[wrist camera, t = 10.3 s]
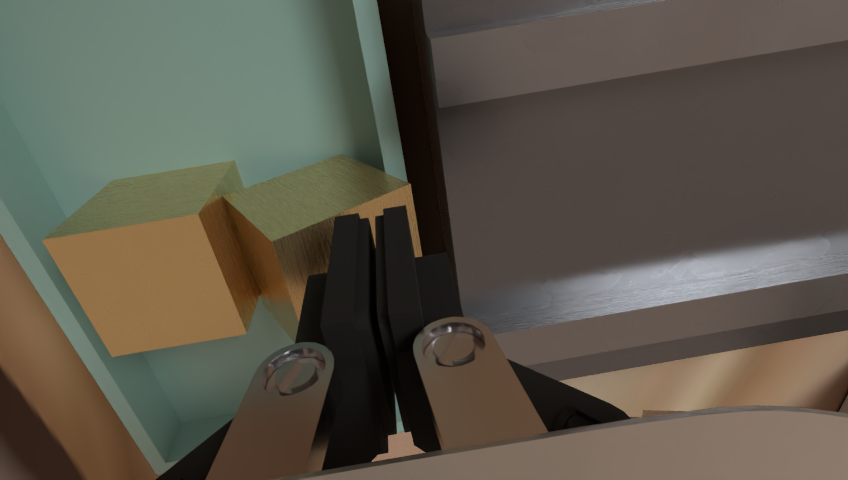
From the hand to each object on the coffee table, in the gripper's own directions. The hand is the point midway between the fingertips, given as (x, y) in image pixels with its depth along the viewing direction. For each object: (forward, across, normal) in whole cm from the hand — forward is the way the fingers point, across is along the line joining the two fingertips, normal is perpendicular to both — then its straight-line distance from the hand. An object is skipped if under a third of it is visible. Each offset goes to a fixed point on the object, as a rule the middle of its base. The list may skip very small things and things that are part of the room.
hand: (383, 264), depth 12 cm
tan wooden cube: (+2, +6, +1) cm, 7 cm away
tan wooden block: (+2, +4, +1) cm, 4 cm away
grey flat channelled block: (+6, -12, 0) cm, 13 cm away
